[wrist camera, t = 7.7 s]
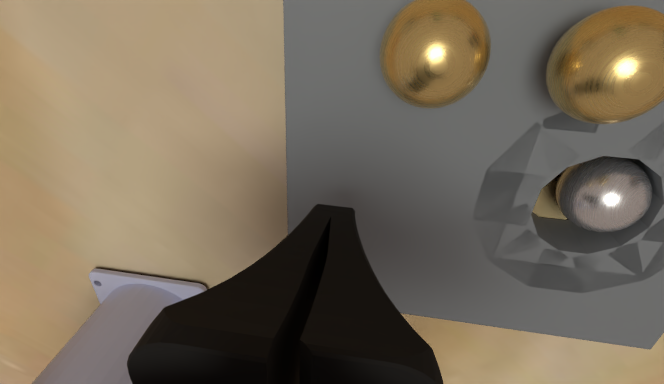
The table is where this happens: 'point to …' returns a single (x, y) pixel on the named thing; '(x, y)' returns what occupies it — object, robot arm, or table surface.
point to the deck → (472, 175)
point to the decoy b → (609, 65)
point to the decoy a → (435, 52)
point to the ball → (604, 193)
